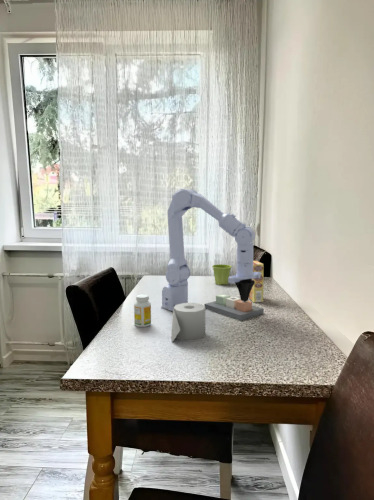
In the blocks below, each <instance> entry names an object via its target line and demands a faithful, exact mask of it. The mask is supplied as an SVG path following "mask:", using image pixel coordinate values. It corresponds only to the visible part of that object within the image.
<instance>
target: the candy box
mask: <svg viewBox="0 0 374 500" xmlns="http://www.w3.org/2000/svg"><path fill="white" fill-rule="evenodd" d="M264 268H265V267H264V263H262V262H260V261H258V260H253V272H259V273H260V278H254V279H252V280H253V281H255V284H254V285H253V287H252V289H251V291H250V294H249V298H248V299H250V300H251V302H252V303H263V302H264Z"/></svg>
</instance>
